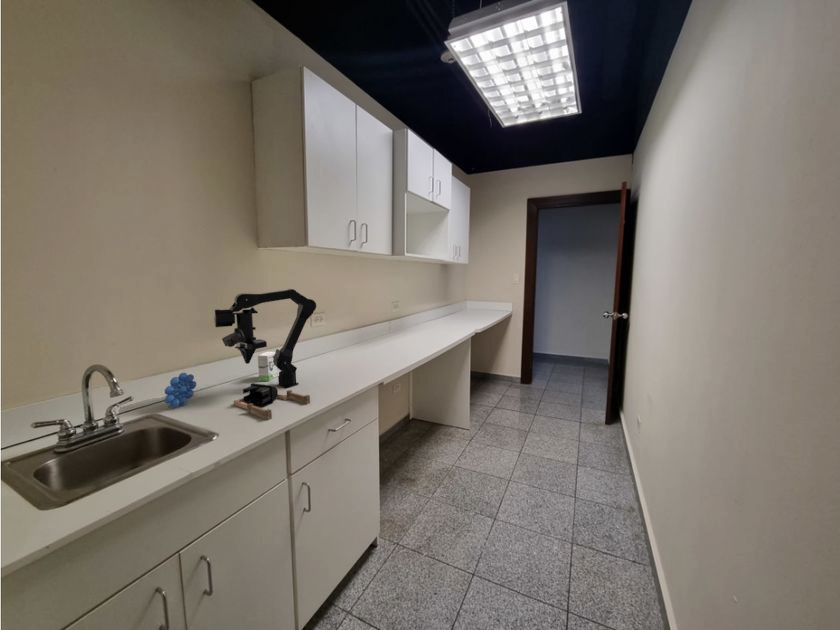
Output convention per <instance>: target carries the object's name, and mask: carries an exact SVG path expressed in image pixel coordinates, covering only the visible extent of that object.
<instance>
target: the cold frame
mask: <svg viewBox="0 0 840 630" xmlns="http://www.w3.org/2000/svg"><path fill="white" fill-rule="evenodd" d="M286 395H287V400H292V401H295V402H298V403H302V404H305V405H309V404H310V403H311V395H310V394H305V395H304V394H300V393H296V392H293V390H290V389H289V390H286ZM246 411H247V414H251V415H253V416H257V417H260V418H261V419H262V418H263V419H265V420H267V421H269V420H273V415H272V414H273V413H272V412H273V411H272V409H269V408H267V409H265V408H263V407H257V406H253V404H252V403H250V404H247V409H246Z"/></svg>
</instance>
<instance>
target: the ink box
mask: <svg viewBox="0 0 840 630" xmlns="http://www.w3.org/2000/svg"><path fill="white" fill-rule="evenodd" d="M275 352H276V351H266V352H263V353H260V354H258V355H257V365H258V366H257V367H258V380H259V381H260V382H270V381H273V380H274V379H276V378H278V376H279V369H278V368H277V367H276V366H275V365H274V363H273V359H274V358H273V356H274V355H275Z"/></svg>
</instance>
